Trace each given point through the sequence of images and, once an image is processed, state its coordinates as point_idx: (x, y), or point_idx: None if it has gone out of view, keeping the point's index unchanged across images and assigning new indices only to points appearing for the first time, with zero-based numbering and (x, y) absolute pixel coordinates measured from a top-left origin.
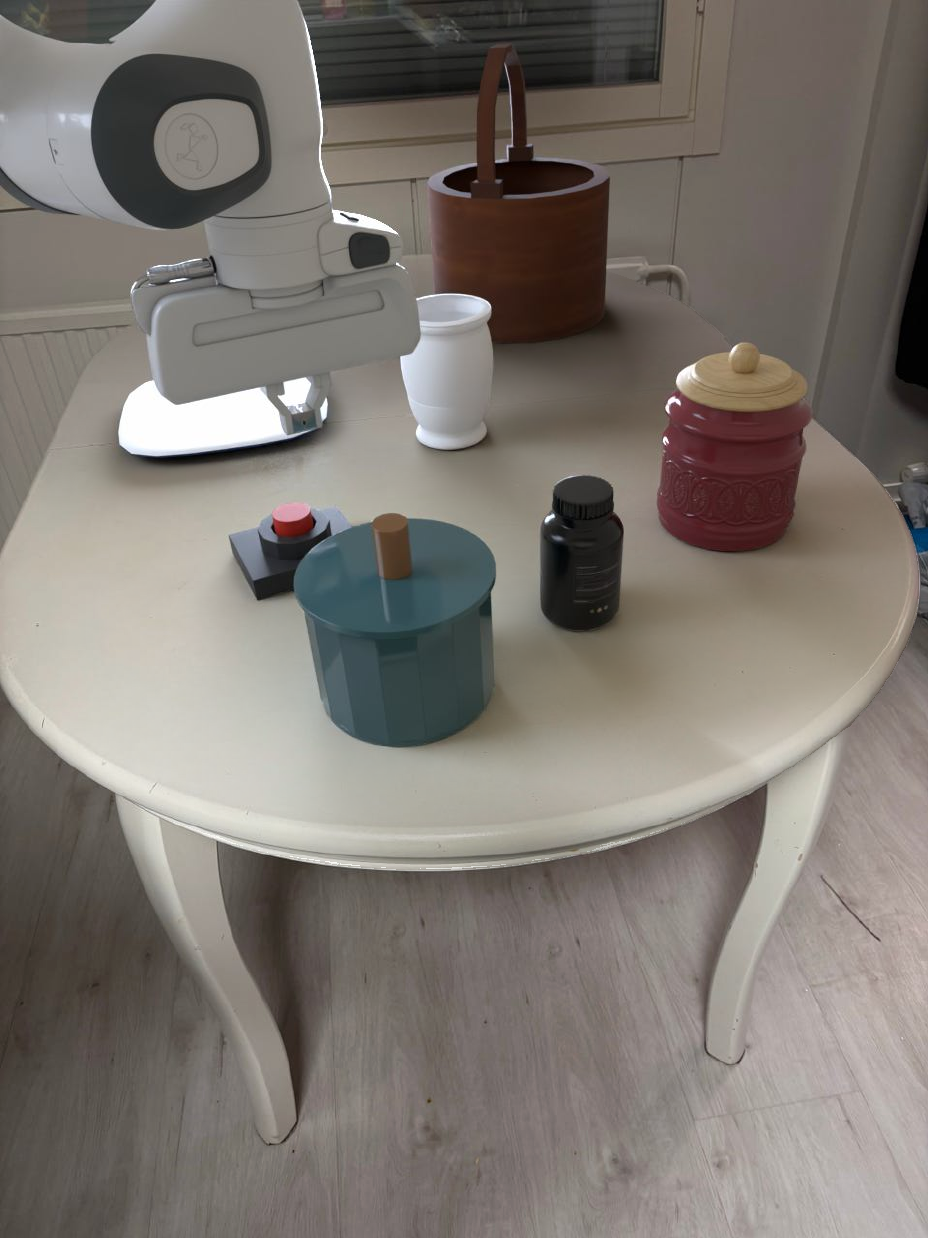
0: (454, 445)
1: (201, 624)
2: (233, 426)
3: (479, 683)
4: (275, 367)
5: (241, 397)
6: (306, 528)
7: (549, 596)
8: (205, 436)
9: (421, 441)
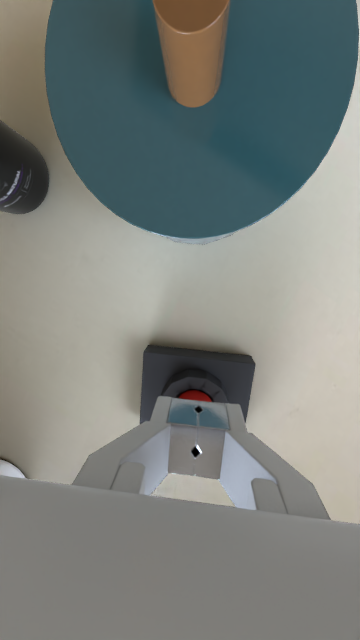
0: (4, 464)
1: (304, 352)
2: None
3: None
4: (356, 612)
5: None
6: (187, 393)
7: (30, 160)
8: None
9: None
